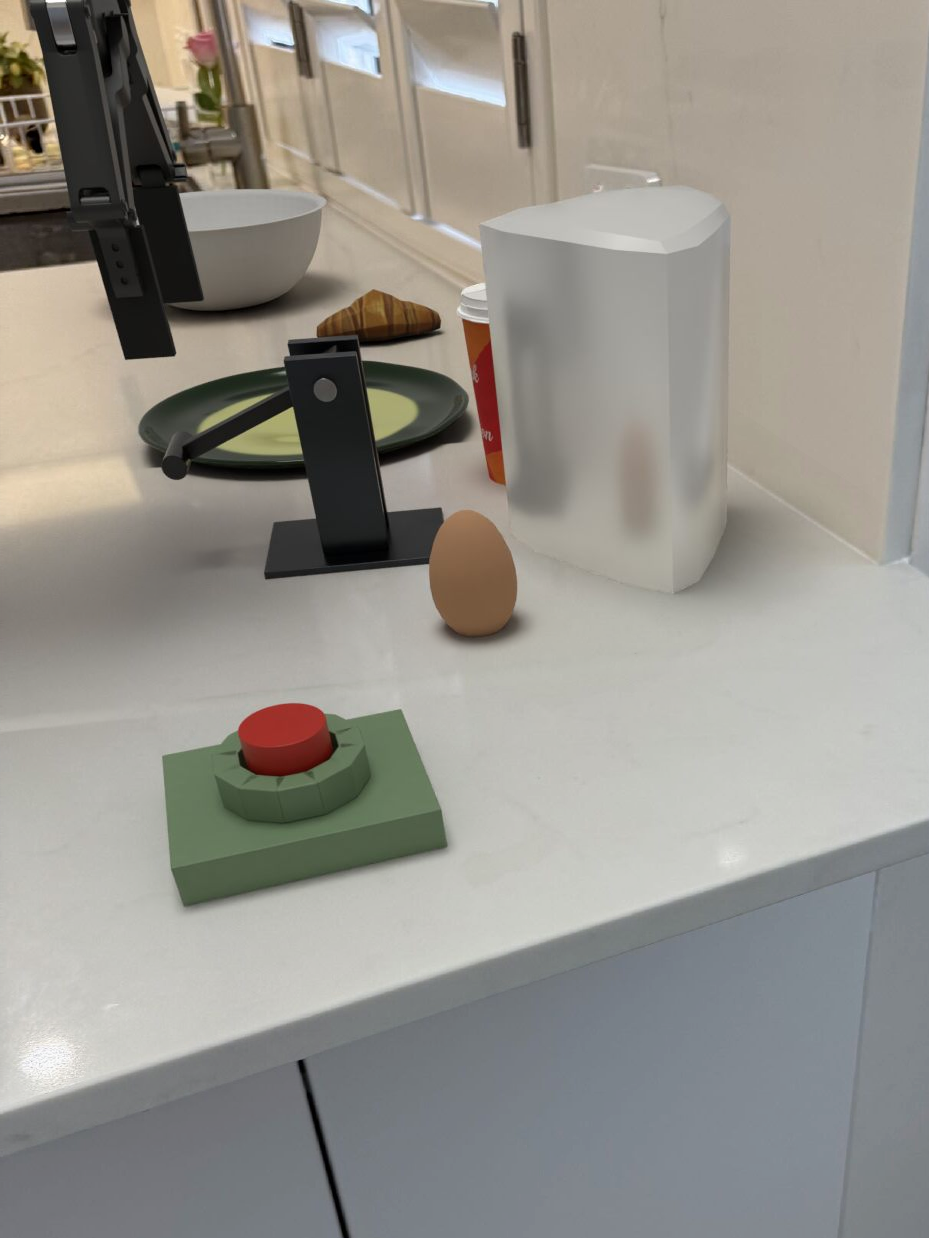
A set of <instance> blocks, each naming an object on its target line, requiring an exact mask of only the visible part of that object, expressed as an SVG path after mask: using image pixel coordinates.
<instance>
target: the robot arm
mask: <svg viewBox="0 0 929 1238" xmlns="http://www.w3.org/2000/svg"><path fill="white" fill-rule="evenodd" d="M28 7H29V9H28V10H29V13H30V16H31V18H32V20H33V23H34V26H35V31H36V34H37V35H36V36H37V38H38V42H39V46H40V50H41V54H42V60H43V65H44V70H45V75H46V76H45V77H46V79H47V87H48V92H49V96H50V102H51V108H52V113H53V118H54V123H55V129H56V135H57V139H58V147H59V151H60V155H61V161H62V167H63V172H64V176H65V183H66V188H67V192H68V199H69V210H70V211H65V214H66V219H67V223H68V225H69V228H70V230H71V232H88V235H89V238H90V242H91V245H92V249H93V252H94V256H95V260H96V263H97V267H98V269H99V274H100V277H101V280H102V284H103V287H104V291H105V295H106V298H107V301H108V305H109V309H110V312H111V314H112V315H111V316H112V319H113V323H114V326H115V330H116V333H117V337H118V341H119V344H120V347H121V351H122V355H123V357H124V360H125V361H132V360H145V359H156V358H157V359H159V358H173V357H174V358H175V357H176V355H177V350H176V346H175V342H174V338H173V334H172V330H171V326H170V322H169V319H168V315H167V311H166V307H165V305H167V304H166V303H181V302H196V301H203V300H204V296H203V291H202V287H201V283H200V279H199V275H198V270H197V266H196V262H195V258H194V254H193V249H192V245H191V241H190V237H189V233H188V229H187V224H186V220H185V216H184V212H183V208H182V203H181V199H180V195H179V193H180V191H179V186H178V185H176V184H178V183H179V184H181V183H188V182H189V177H188V170H187V166H186V163H185V162H178V155H177V152H176V150H174V149H175V148H174V146H173V143H172V140H171V136H170V134H169V131H168V127H167V124H166V121H165V118H164V114H163V112H162V111H163V110H162V108H161V105H160V101H159V98H158V96H157V95H158V94H157V92H156V88H155V86H154V82H153V79H152V76H151V73H150V70H149V66H148V63H147V60H146V57H145V54H144V50H143V46H142V45H141V41H140V38H139V35H138V31H137V26H136V22H135V18H134V15H133V11H132V1H131V0H29V6H28ZM133 184H134V185H135V186H140V187H133ZM170 184H175V185H170ZM135 210H136V211H135ZM137 217H138V221H139V225H137V222H136V220H137Z"/></svg>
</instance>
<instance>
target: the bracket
mask: <svg viewBox="0 0 929 1238" xmlns="http://www.w3.org/2000/svg"><path fill="white" fill-rule="evenodd" d="M335 345H337V347H338V349H339V350H340V352H338V353H324V354H320V353H322V352H323V351H325V350H327V349H329V348H331V347H333V346H335ZM287 349H288V353H289V355H285V356H284V357H283V365H284V366H283V367H285V371H286V376H287V381H288V385H289V390H290V395H291V400H292V405H293V410H294V414H295V419H296V424H297V429H298V434H299V439H300V443H301V448H302V453H303V458H304V463H305V467H304V468H305V471H306V476H307V481H308V486H309V491H310V496H311V500H312V501H311V502H312V506H313V509H314V516H315V518H305V519H295V520H283V521H274V522H273V523H272V530H271V534H270V540H269V544H268V545H269V546H268V551H267V556H266V561H265V565H264V570H263V575H264V580H275V579H284V578H294V577H295V578H296V577H307V576H316V575H327V574H337V573H350V572H359V571H369V570H381V569H391V568H392V569H393V568H403V567H413V566H423V565H429V560H430V555H431V551H432V547H433V543H434V540H435V537H436V535H437V533H438V531H439V528H440V527H441V525H442V524H443V523H444V521H445V520H444V513H443V508H442V507H428V508H417V509H408V510H407V509H406V510H395V511H388V506H387V500H386V495H385V489H384V488H385V487H384V483H383V482H384V481H383V477H382V472H381V466H380V460H379V455H378V453H377V447H376V441H375V435H374V429H373V423H372V417H371V411H370V405H369V399H368V394H367V388H366V382H365V376H364V370H363V364H362V360H363V358H362V353H361V345H360V342H359V340H358V335H349V336H334V337H320V338H317V337H309V338H294V339H292V338H291V339H288V340H287Z"/></svg>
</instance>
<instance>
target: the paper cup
mask: <svg viewBox="0 0 929 1238" xmlns="http://www.w3.org/2000/svg"><path fill="white" fill-rule="evenodd" d="M459 299H460V304H459V306H458V307H457V309H456V315H457V317H458V318H461V323H462V327H463V333H464V339H465V345H466V351H467V357H468V362H469V369H470V375H471V382H472V386H473V393H474V399H475V406H476V410H477V417H478V421H479V428H480V433H481V434H480V435H481V440H482V445H483V451H484V456H485V462H486V466H487V467H486V468H487V473H488V477H489V479H490V480H491V481H492V482H494V483H497V484H500V485H503V486H506V480H505V471H504V461H503V451H502V442H501V432H500V422H499V413H498V403H497V393H496V384H495V374H494V364H493V354H492V345H491V335H490V325H489V316H488V306H487V296H486V287H485V282H479V283H477V284H472V285H470V286H467V287H465V288H463V290H462V291H461V293H460V298H459Z"/></svg>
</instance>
